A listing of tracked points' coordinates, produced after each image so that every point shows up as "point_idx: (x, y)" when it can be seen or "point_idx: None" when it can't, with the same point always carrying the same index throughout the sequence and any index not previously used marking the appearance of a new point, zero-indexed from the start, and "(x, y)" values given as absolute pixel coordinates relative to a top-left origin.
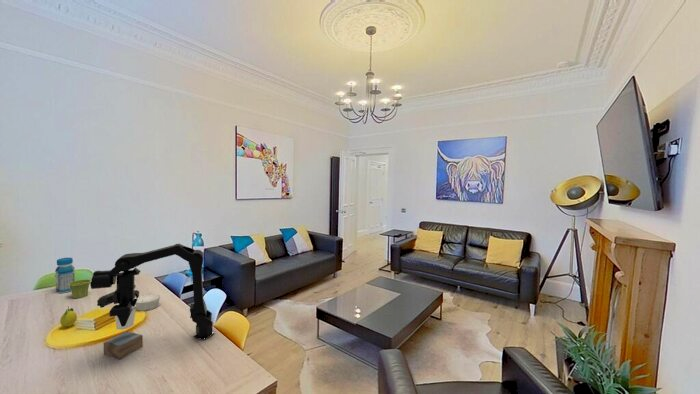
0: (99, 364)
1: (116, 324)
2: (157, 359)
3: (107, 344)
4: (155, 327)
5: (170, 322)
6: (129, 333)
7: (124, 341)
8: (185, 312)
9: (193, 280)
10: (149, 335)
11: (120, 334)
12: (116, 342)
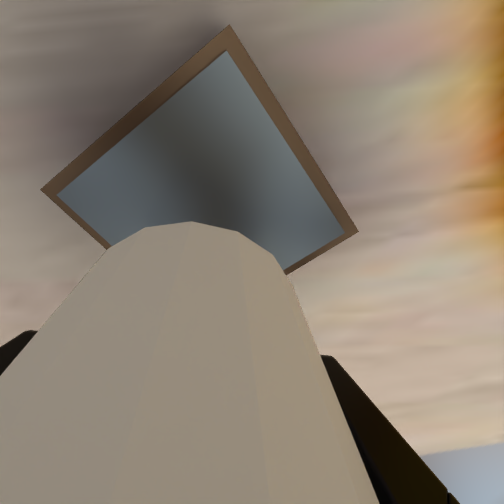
0: (69, 10)
1: (114, 269)
2: (7, 334)
3: (175, 72)
4: (418, 326)
5: (417, 383)
6: (278, 254)
7: (129, 225)
8: (477, 433)
9: None
10: (332, 301)
11: (311, 185)
12: (139, 162)
